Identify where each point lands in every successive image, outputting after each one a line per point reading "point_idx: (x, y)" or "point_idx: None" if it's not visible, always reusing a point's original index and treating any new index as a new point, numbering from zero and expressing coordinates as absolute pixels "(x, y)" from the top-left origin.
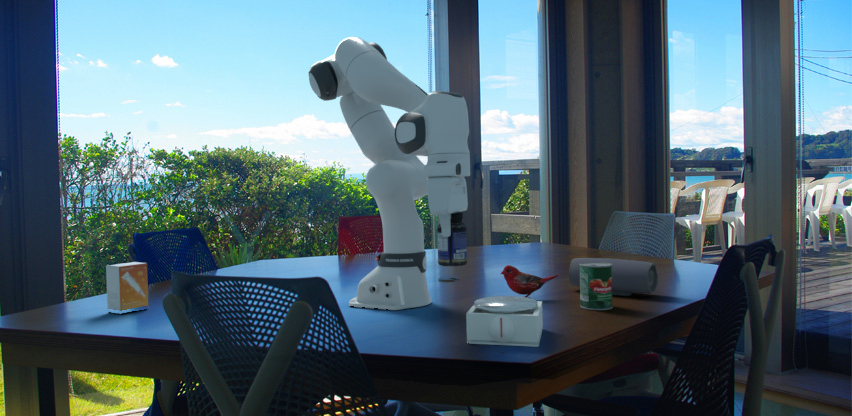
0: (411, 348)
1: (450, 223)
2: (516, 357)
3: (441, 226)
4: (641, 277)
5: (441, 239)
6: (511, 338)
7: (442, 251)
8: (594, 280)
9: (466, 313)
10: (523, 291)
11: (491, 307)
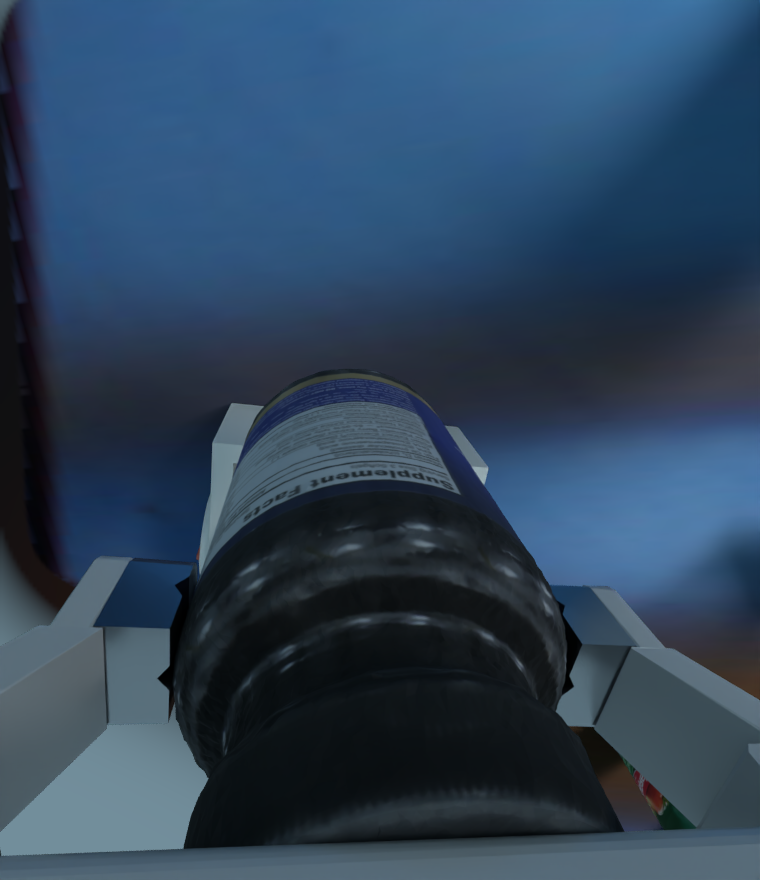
0: (135, 200)
1: (34, 793)
2: (105, 545)
3: (6, 648)
4: None
5: (234, 500)
6: None
7: (248, 451)
8: (663, 799)
9: (214, 443)
10: None
11: None
